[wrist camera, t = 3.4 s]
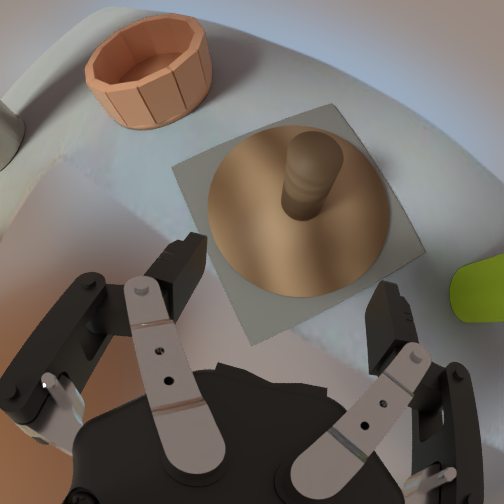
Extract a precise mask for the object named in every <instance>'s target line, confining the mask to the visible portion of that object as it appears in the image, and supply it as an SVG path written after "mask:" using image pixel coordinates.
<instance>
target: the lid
mask: <svg viewBox="0 0 504 504" xmlns="http://www.w3.org/2000/svg"><path fill="white" fill-rule="evenodd" d="M207 208H208V220H209V224H210V229H211V232H212V235H213V237H214V240H215V242H216V244H217V246H218V248H219V250H220V252H221V253H222V255H223V256H224V257H225V259H226V260H227V262H228V263H229V264H230V265H231V266H232V267H233V268H234V269H235V271H236V272H237V273H238V274H240V275H241V276H242V277H244V278H245V279H246V280H247V281H249V282H250V283H252V284H254V285H255V286H257V287H259V288H261V289H264V290H266V291H268V292H271V293H274V294H278V295H282V296H288V297H295V298H307V297H315V296H321V295H325V294H328V293H332V292H335V291H337V290H339V289H341V288H344V287H346V286H347V285H349V284H351V283H352V282H354V281H355V280H357V279H358V278H359V277H360V276H361V275H362V274H364V273H365V272H366V271H367V270H368V268H369V267H370V266H371V265H372V264H373V262H374V261H375V259H376V258H377V256H378V255H379V253H380V251H381V248H382V246H383V244H384V241H385V238H386V234H387V229H388V222H389V210H388V202H387V197H386V193H385V189H384V187H383V184H382V182H381V179H380V177H379V176H378V174H377V172H376V170H375V169H374V167H373V166H372V165H371V163H370V162H369V160H368V159H367V158H366V157H365V156H364V155H363V154H362V153H361V152H360V151H359V150H358V149H357V148H355V147H354V146H353V145H352V144H350V143H349V142H347V141H346V140H344V139H342V138H341V137H339V136H337V135H335V134H333V133H330V132H327V131H325V130H321V129H318V128H314V127H308V126H296V125H290V126H280V127H275V128H270V129H267V130H264V131H261V132H258V133H256V134H254V135H252V136H250V137H248V138H247V139H245V140H243V141H242V142H240V143H239V144H238V145H237V146H236V147H234V148H233V149H232V150H231V151H230V152H229V153H228V154H227V155H226V157H225V158H224V159H223V161H222V162H221V164H220V165H219V167H218V169H217V171H216V172H215V174H214V177H213V180H212V182H211V185H210V190H209V195H208V207H207Z"/></svg>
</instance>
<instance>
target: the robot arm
mask: <svg viewBox="0 0 504 504" xmlns="http://www.w3.org/2000/svg"><path fill="white" fill-rule="evenodd" d="M24 131H25V125H24V122H23V121H22V120H21V119H20V118H19V117H18V116H17V115H16V114H14V113H13V112H12V111H11V110H10V109H9V108H8V107H7V106H6V105H5V104H4V103H3V102H2V101H1V100H0V170H2V169H3V168H4V167H5V166H6V165H7V164H8V163H9V162H10V160H11V159H12V158H13V156H14V155H15V153H16V152H17V150H18V148H19V146H20V144H21V142H22V139H23V136H24ZM207 240H208V238H207V236H206V235H202V234H198V233H194V232H190V233H189V235H188V236H187V237H186V238H185V240H184V241H181V240H176V241H174V242H172V243H171V244H169V245H168V246H167V247H166V248H165V250H164V251H163V253H161V254H160V256H159V258H157V259H156V261H155V262H154V263H153V264H152V265H151V267H150V268H149V269H148V271H147V272H146V273H145V274H144V275H143V276H137V277H134V278H132V279H130V280H128V281H127V282H126V284H125V285H114V284H106V281H105V278H104V277H103V275H101V274H99V273H96V272H89V273H84V274H82V275H80V276H79V277H77V278H76V279H75V281H74V282H73V283H72V284H71V285H70V286H69V288H68V289H67V290H66V291H65V292H64V294H63V295H62V296H61V297H60V298H59V300H58V301H57V302H56V303H55V304H54V306H53V307H52V308H51V309H50V311H49V312H48V313H47V314H46V316H45V317H44V318H43V320H42V321H41V322H40V323H39V325H38V326H37V327H36V329H35V330H34V331H33V333H32V334H31V335H30V337H29V338H28V339H27V341H26V342H25V343H24V345H23V346H22V348H21V349H20V351H19V352H18V353H17V355H16V356H15V358H14V359H13V361H12V362H11V364H10V365H9V366H8V368H7V369H6V371H5V373H4V374H3V375H2V377H1V379H0V408H1V409H2V410H3V411H4V412H5V413H6V414H7V415H8V416H9V418H10V419H11V420H12V421H13V422H14V423H15V424H16V425H17V426H18V427H19V428H20V429H22V430H23V431H24V432H25V433H26V434H28V435H29V436H31V437H32V438H33V439H35V440H36V441H37V442H39V443H41V444H51V445H53V446H55V447H57V448H58V449H60V450H61V451H63V452H65V453H67V454H68V455H70V456H72V457H73V478H72V484H71V488H70V491H69V493H68V494H67V496H66V498H65V499H64V501H63V502H62V504H483V501H484V480H483V479H484V478H483V459H482V447H481V438H480V429H479V422H478V415H477V409H476V403H475V397H474V392H473V387H472V382H471V378H470V374H469V372H468V370H467V369H466V368H465V367H464V366H463V365H462V364H460V363H457V362H452V363H450V364H449V365H448V366H447V367H446V368H444V367H441V366H439V365H437V364H435V363H433V362H431V356H430V354H429V352H428V351H427V349H426V348H425V347H423V346H422V345H420V344H419V341H418V337H417V333H416V328H415V324H414V322H413V321H414V320H413V316H412V313H411V309H410V305H409V304H408V302H407V301H406V299H405V298H404V297H402V296H400V293H399V289H398V286H397V284H395V283H391V282H387V281H383V280H382V281H380V282H379V284H378V286H377V288H376V290H375V292H374V294H373V296H372V298H371V300H370V302H369V304H368V306H367V308H366V312H365V324H366V335H367V348H368V364H369V374H370V375H377V376H378V379H377V380H376V381H375V382H374V383H373V384H372V386H371V387H370V388H369V389H368V390H367V391H366V392H365V393H364V394H363V395H362V396H361V398H360V399H359V400H358V401H357V402H356V403H355V404H354V405H353V406H352V407H351V408H350V409H349V410H348V411H346V409H345V408H344V407H343V406H342V405H340V404H339V403H338V402H336V401H335V400H333V399H331V398H329V397H327V388H324V387H318V386H313V385H308V384H303V383H271V382H268V381H266V380H264V379H262V378H260V377H258V376H256V375H254V374H252V373H250V372H248V371H246V370H244V369H240V368H236V367H233V366H229V365H225V364H222V363H217V366H216V369H215V370H211V369H209V370H198V371H193V372H192V371H191V368H190V365H189V363H188V360H187V358H186V355H185V352H184V349H183V347H182V344H181V341H180V338H179V336H178V333H177V330H176V327H175V324H176V322H177V320H178V318H179V316H180V315H181V313H182V311H183V309H184V307H185V306H186V304H187V302H188V300H189V298H190V297H191V295H192V293H193V291H194V290H195V288H196V286H197V284H198V283H199V281H200V279H201V277H202V275H203V273H204V270H205V265H206V253H207ZM114 335H117V336H129V337H133V342H134V346H135V351H136V355H137V359H138V363H139V367H140V372H141V375H142V379H143V383H144V386H145V390H146V394H144V395H143V396H140V397H138V398H136V399H134V400H132V401H130V402H128V403H126V404H123V405H121V406H119V407H117V408H115V409H113V410H110V411H108V412H106V413H104V414H101V415H99V416H97V417H95V418H92V419H91V420H89V421H88V422H86V423H85V424H84V425H83V422H82V418H83V413H84V410H85V404H84V401H83V399H82V397H81V395H80V394H81V392H82V390H83V388H84V387H85V385H86V383H87V381H88V379H89V377H90V376H91V374H92V372H93V370H94V368H95V367H96V365H97V363H98V361H99V360H100V358H101V356H102V354H103V353H104V351H105V349H106V347H107V346H108V344H109V342H110V341H111V339H112V337H113V336H114ZM407 406H408V407H411V408H412V438H413V439H412V474H411V476H410V477H409V478H408V479H407V481H406V482H405V484H404V488H403V490H402V491H401V489H400V487H399V486H398V484H397V483H396V481H395V480H394V478H393V477H392V476H391V474H390V473H389V471H388V470H387V468H386V467H385V465H384V464H383V462H382V461H381V460H380V458H379V457H378V455H377V454H376V452H375V451H374V449H375V448H376V447H377V446H378V444H379V443H380V442H381V441H382V440H383V438H384V437H385V436H386V434H387V433H388V432H389V430H390V429H391V428H392V427H393V425H394V424H395V422H396V421H397V420H398V418H399V417H400V416H401V414H402V413H403V411H404V410H405V408H406V407H407ZM442 410H443V411H444V424H443V422H442Z"/></svg>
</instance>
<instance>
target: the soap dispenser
mask: <svg viewBox="0 0 504 504" xmlns="http://www.w3.org/2000/svg"><path fill="white" fill-rule="evenodd" d="M450 303H451V307H452V309H453V311H454V313H455V315H456V316H457V317H458V318H459V319H460V320H461V321H463V322H466V323H484V322H504V253H503V254H500V255H497V256H494V257H491V258H488V259H485V260H482V261H478V262H475V263H472V264H469V265H466V266H463V267H461V268H460V269H459V270H458V271H457V272H456V273H455V275H454V276H453V279H452V281H451V285H450Z"/></svg>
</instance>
